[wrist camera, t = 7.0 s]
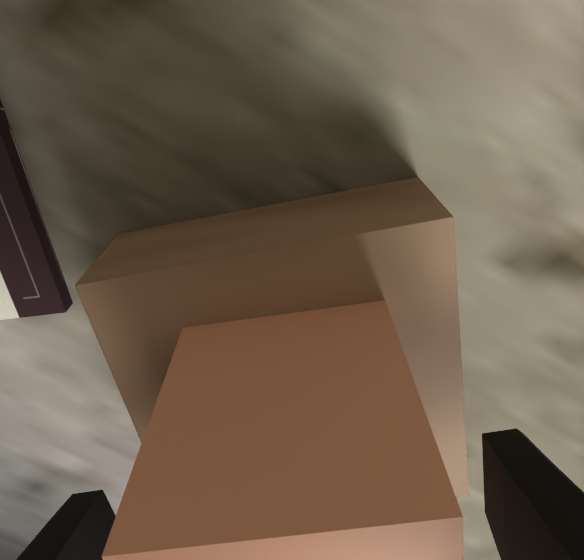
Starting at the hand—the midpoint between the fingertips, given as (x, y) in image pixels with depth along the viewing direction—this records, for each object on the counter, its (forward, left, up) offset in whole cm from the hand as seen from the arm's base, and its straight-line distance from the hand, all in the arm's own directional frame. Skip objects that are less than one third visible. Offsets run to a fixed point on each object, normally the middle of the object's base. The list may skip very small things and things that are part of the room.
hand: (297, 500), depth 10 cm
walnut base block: (0, 0, -6) cm, 6 cm away
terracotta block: (0, 0, -3) cm, 3 cm away
